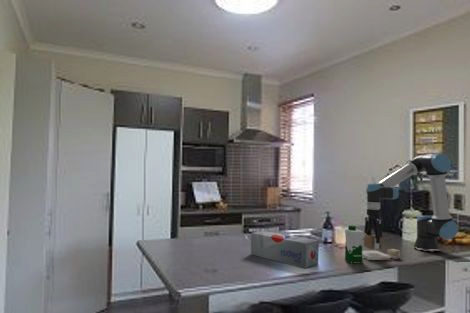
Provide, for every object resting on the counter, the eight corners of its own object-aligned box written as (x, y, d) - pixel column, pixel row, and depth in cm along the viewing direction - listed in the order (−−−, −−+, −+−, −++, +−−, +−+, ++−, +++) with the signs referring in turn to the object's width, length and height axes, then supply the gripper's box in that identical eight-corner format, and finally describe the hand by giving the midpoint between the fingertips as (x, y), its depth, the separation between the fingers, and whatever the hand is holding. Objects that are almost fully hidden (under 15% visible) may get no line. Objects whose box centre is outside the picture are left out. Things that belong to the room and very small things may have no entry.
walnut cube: (374, 246, 220) (374, 234, 220) (381, 248, 213) (381, 237, 214) (364, 246, 219) (364, 234, 219) (370, 249, 212) (371, 237, 212)
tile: (376, 254, 224) (376, 250, 224) (390, 260, 211) (390, 256, 211) (356, 255, 221) (356, 251, 221) (369, 261, 207) (369, 256, 208)
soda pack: (319, 265, 197) (319, 239, 197) (305, 269, 188) (306, 243, 188) (263, 251, 226) (264, 229, 226) (249, 254, 217) (250, 231, 217)
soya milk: (355, 259, 211) (356, 225, 211) (365, 263, 202) (365, 227, 203) (342, 260, 208) (343, 225, 209) (351, 264, 200) (352, 228, 200)
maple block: (392, 257, 219) (392, 248, 219) (399, 258, 215) (399, 250, 215) (387, 258, 216) (387, 249, 216) (394, 259, 212) (395, 251, 212)
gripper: (358, 207, 226) (357, 243, 225) (378, 211, 206) (377, 251, 205) (369, 207, 227) (368, 243, 227) (389, 211, 208) (388, 250, 207)
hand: (372, 247), depth 216 cm, fingers closed on walnut cube, 7 cm apart
